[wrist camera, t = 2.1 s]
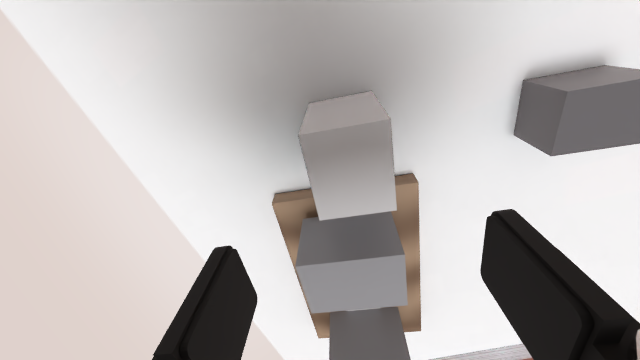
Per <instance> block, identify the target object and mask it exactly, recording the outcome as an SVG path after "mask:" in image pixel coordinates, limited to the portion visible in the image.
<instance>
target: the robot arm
mask: <svg viewBox="0 0 640 360" xmlns="http://www.w3.org/2000/svg"><path fill="white" fill-rule="evenodd" d="M481 276H482V279H483V281H484V283H485V284H486V286H487V287H488V289H489V291H490V292H491V294H492V295H493V297H494V298H495V300H496V302H497V303H498V305H499V306H500V308H501V309H502V311H503V313H504V314H505V316H506V317H507V319H508V320H509V322H510V324H511V325H512V327H513V328H514V330H515V331H516V333H517V335H518V336H519V338H520V339H521V341H522V342H523V344H524V346H525V347H526V349H527V350H528V352H529V353H530V355H531V357H532V358H533V360H640V323H639V322H638V321H636V320H635V319H634V318H633V317H632V316H631V315H630V314H629V313H628V312H627V311H625V310H624V309H623V308H622V307H621V306H620V305H619V304H618V303H617V302H616V301H614V300H613V299H612V298H611V297H610V296H609V295H608V294H607V293H606V292H605V291H604V290H602V289H601V288H600V287H599V286H598V285H597V284H596V283H595V282H594V281H593V280H591V279H590V278H589V277H588V276H587V275H586V274H585V273H584V272H583V271H582V270H580V269H579V268H578V267H577V266H576V265H575V264H574V263H573V262H572V261H571V260H570V259H568V258H567V257H566V256H565V255H564V254H563V253H562V252H561V251H560V250H558V249H557V248H556V247H554V246H553V245H552V244H551V243H550V242H549V241H548V240H547V239H546V238H544V237H543V236H542V235H541V234H540V233H539V232H538V231H537V230H536V229H535V228H534V227H532V226H531V225H530V224H529V223H528V222H527V221H526V220H525V219H524V218H523V217H522V216H520V215H519V214H518V213H517V212H516V211H515V210H513V209H508V210H501V211H494V212H493V213H492V214H491V216H488V217H487V220H486V229H485V237H484V246H483V254H482V263H481ZM256 305H257V294H256V292H255V289H254V287H253V285H252V283H251V281H250V278H249V276H248V274H247V272H246V269H245V267H244V265H243V263H242V261H241V258H240V256H239V254H238V252H237V250H236V249H233V248H232V247H231V246H223V247H216V248H214V250H213V251H212V253H211V255H210V256H209V258H208V260H207V262H206V263H205V265H204V267H203V269H202V270H201V272H200V274H199V276H198V277H197V279H196V281H195V283H194V284H193V286H192V288H191V290H190V291H189V293H188V295H187V297H186V299H185V300H184V302H183V304H182V305H181V307H180V309H179V311H178V312H177V314H176V316H175V318H174V320H173V321H172V323H171V325H170V326H169V328H168V330H167V331H166V333H165V335H164V337H163V339H162V340H161V342H160V344H159V345H158V347H157V349H156V351H155V353H154V354H153V355H154V357H153V359H152V360H241V357H242V353H243V350H244V346H245V343H246V340H247V336H248V333H249V329H250V326H251V322H252V319H253V315H254V312H255V308H256Z"/></svg>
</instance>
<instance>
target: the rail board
mask: <svg viewBox="0 0 640 360" xmlns="http://www.w3.org/2000/svg"><path fill="white" fill-rule="evenodd" d="M395 190H396V204H397V210H396V211H391V213H392V217H393V220H394V223H395V226H396V229H397V232H398V235H399V238H400V241H401V244H402V247H403V250H404V253H405V264H406V283H407V301H408V305H406V306H395V307H398V310H399V314H400V318H401V322H402V326H403V330H404V332H414V331H421V304H420V247H419V190H418V181H417V179H416V178H415V176H414V174H407V175H400V176H395ZM272 206H273V209H274V212H275V214H276V217H277V220H278V223H279V226H280V229H281V232H282V234H283V237H284V240H285V243H286V246H287V249H288V252H289V255H290V257H291V260H292V263H293V266H294V269H295V272H296V275H297V278H298V280H299V283H300V286H301V289H302V292H303V295H304V298H305V300H306V303H307V306H308V309H309V312H310V315H311V318H312V321H313V323H314V326H315V329H316V332H317V335H318V338H330V313H331V312H324V313H312V314H311V311H310V308H309V305H308V302H307V299H306V296H305V294H304V291H303V288H302V285H301V282H300V279H299V276H298V273H297V270H296V267H295V265H296V259H297V252H298V246H299V240H300V233H301V227H302V221H303V219H306V218H313V217H318V213H317V209H316V205H315V201H314V197H313V193H312V189H306V190H299V191H293V192H286V193H279V194H275V196H274V199H273V202H272ZM383 308H390V307H383ZM371 309H378V308H371ZM359 310H366V309H359ZM347 311H354V310H347ZM336 312H343V311H336Z"/></svg>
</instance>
